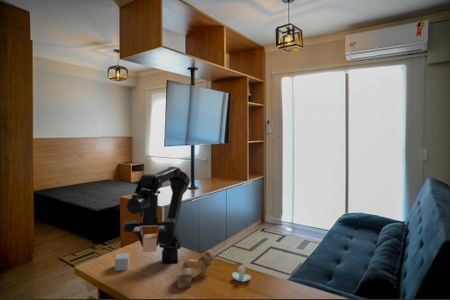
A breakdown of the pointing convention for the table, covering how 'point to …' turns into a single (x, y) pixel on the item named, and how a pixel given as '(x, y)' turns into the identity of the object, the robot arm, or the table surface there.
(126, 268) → the slate grey block
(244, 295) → the table surface
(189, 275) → the walnut block
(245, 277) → the pacifier
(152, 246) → the terracotta block
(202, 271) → the lion figurine
